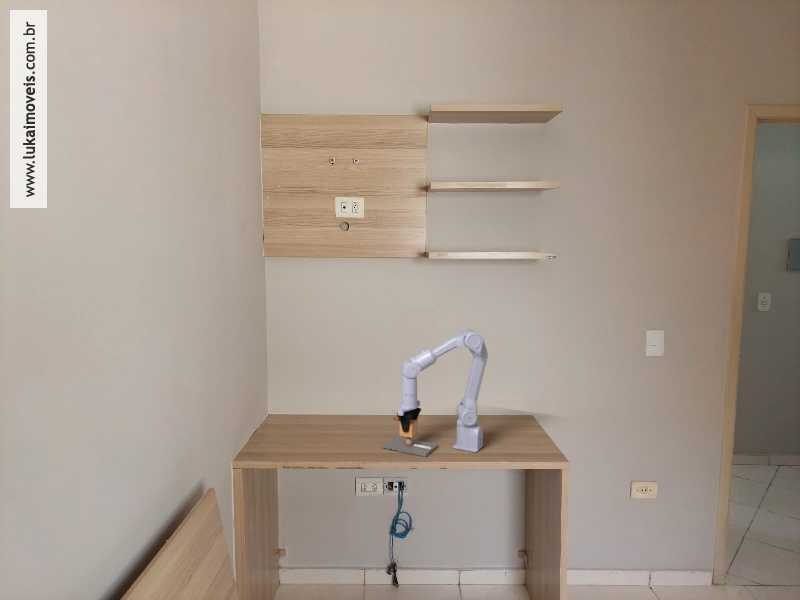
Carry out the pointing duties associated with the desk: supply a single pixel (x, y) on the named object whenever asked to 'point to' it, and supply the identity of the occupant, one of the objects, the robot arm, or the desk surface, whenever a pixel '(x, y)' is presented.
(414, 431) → the orange cube
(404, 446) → the plate
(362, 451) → the desk surface
